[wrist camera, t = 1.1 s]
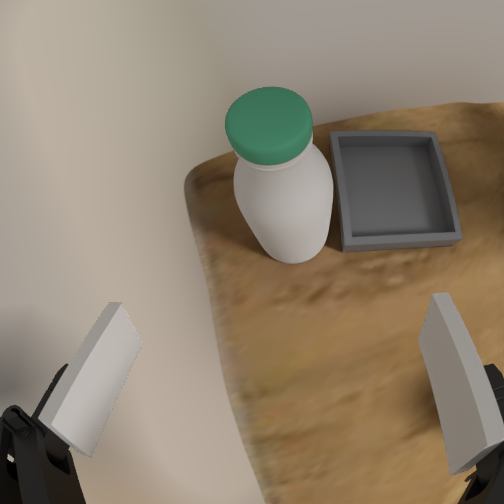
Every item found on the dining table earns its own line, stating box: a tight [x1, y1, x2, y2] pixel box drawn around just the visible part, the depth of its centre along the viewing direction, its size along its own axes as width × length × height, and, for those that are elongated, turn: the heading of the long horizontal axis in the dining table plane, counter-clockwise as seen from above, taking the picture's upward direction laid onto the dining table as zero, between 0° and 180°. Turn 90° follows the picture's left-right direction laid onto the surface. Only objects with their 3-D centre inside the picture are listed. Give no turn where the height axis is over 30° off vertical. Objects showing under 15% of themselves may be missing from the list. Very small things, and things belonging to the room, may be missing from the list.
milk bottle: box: [225, 87, 333, 264], centre depth 24 cm, size 8×8×20 cm
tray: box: [329, 130, 463, 253], centre depth 31 cm, size 14×14×3 cm
